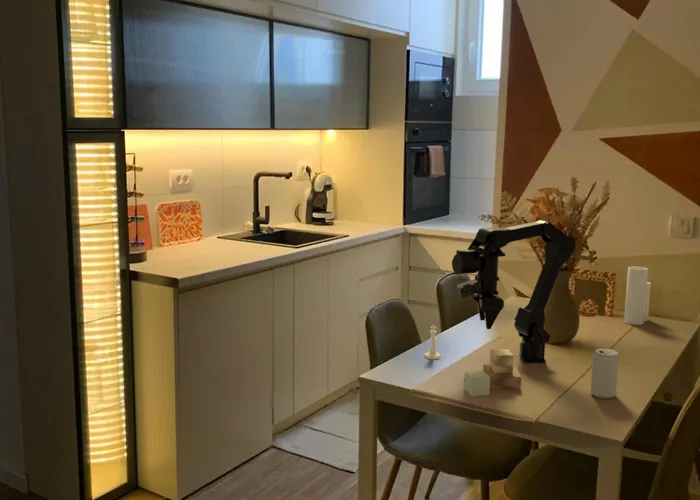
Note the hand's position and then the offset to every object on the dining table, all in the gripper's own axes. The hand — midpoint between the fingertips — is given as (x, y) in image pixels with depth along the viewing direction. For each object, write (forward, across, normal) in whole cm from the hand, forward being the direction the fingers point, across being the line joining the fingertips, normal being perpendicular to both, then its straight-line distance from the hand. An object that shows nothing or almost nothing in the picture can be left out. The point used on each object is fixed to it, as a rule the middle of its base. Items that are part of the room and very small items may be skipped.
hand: (485, 324), depth 209 cm
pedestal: (+13, +14, +2) cm, 19 cm away
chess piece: (+13, -8, -14) cm, 21 cm away
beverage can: (+13, +23, +27) cm, 38 cm away
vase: (+13, -50, +65) cm, 83 cm away
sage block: (+13, +21, -6) cm, 25 cm away
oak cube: (+9, +14, +2) cm, 17 cm away
